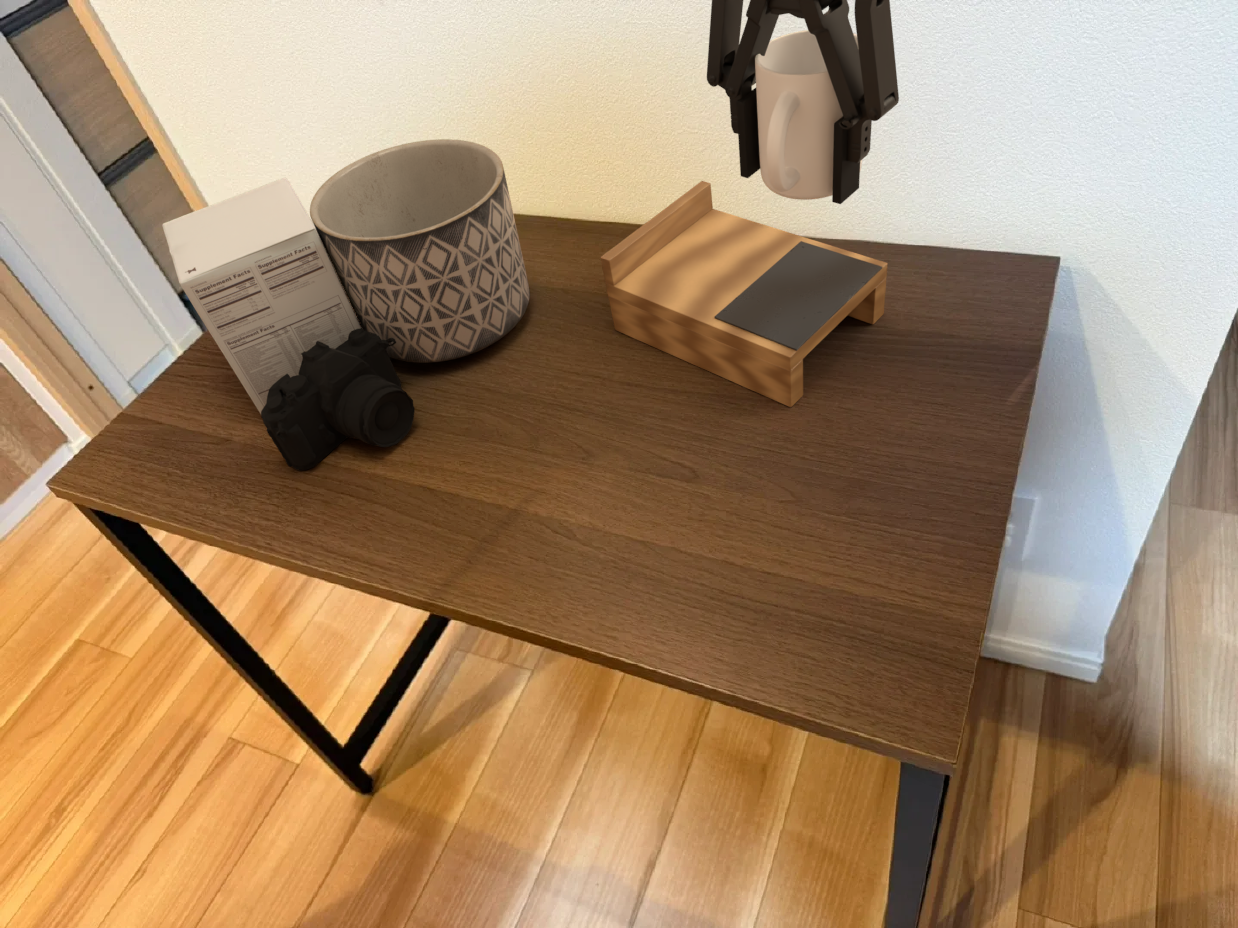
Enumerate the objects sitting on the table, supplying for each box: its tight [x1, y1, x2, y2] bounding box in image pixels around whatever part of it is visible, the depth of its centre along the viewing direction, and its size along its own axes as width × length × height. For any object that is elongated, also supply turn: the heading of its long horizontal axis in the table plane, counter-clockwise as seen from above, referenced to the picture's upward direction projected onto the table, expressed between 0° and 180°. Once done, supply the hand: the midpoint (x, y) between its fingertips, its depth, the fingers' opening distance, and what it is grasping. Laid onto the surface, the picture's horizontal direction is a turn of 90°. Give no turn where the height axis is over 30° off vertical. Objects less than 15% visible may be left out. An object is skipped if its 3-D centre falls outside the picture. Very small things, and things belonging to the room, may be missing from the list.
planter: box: [309, 138, 531, 364], centre depth 91 cm, size 19×19×16 cm
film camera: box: [260, 327, 416, 472], centre depth 83 cm, size 15×10×9 cm, turn 144°
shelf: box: [600, 180, 888, 408], centre depth 86 cm, size 22×16×9 cm
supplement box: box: [162, 177, 362, 415], centre depth 89 cm, size 13×13×18 cm
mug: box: [755, 29, 863, 201], centre depth 68 cm, size 12×8×10 cm
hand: (798, 181), depth 72 cm, fingers closed on mug, 8 cm apart
